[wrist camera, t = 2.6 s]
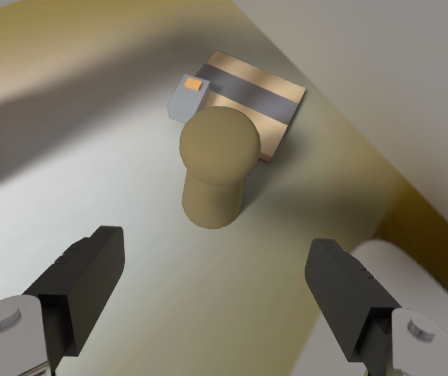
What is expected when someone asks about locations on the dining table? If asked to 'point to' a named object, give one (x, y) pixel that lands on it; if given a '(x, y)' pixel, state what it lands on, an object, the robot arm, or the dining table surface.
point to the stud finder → (188, 98)
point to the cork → (217, 164)
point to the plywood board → (252, 97)
